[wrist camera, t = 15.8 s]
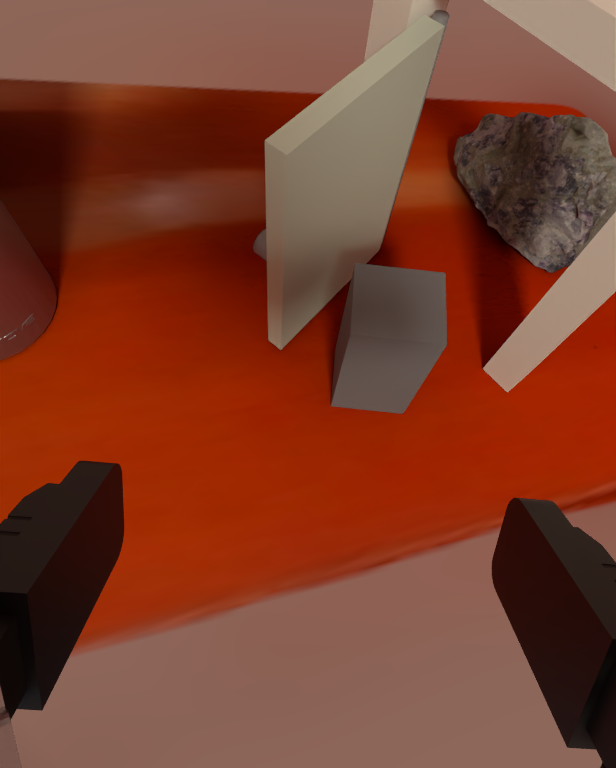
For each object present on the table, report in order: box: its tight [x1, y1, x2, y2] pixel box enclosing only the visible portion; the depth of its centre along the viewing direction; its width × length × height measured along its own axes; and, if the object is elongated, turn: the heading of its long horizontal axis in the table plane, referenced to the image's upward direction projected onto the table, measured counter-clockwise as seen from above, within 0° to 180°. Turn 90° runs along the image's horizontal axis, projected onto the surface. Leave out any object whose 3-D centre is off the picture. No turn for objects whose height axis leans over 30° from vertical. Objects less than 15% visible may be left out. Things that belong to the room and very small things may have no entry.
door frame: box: [364, 0, 616, 392], centre depth 30 cm, size 18×3×22 cm, turn 40°
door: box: [253, 10, 449, 350], centre depth 31 cm, size 13×3×17 cm, turn 140°
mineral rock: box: [454, 112, 616, 273], centre depth 39 cm, size 13×11×10 cm
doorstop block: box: [331, 263, 447, 414], centre depth 32 cm, size 4×5×10 cm
